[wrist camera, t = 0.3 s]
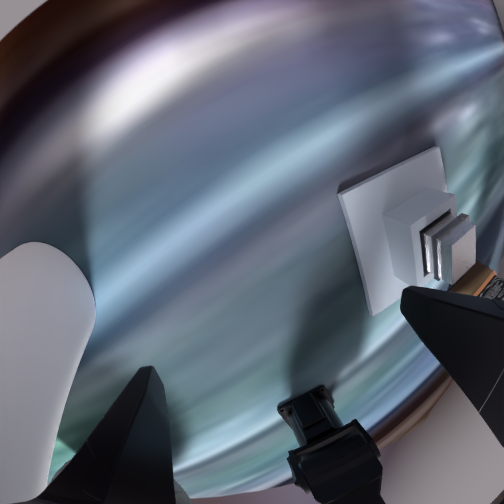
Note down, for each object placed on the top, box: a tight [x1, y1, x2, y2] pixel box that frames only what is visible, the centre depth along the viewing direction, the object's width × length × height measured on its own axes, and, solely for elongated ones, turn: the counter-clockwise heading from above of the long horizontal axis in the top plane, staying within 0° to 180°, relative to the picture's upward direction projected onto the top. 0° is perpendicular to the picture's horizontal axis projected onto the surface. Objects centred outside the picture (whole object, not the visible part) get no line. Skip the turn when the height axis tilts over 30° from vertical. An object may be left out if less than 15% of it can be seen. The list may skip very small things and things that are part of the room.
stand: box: [337, 147, 469, 316], centre depth 23 cm, size 14×14×5 cm
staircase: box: [419, 212, 476, 285], centre depth 21 cm, size 4×4×7 cm
